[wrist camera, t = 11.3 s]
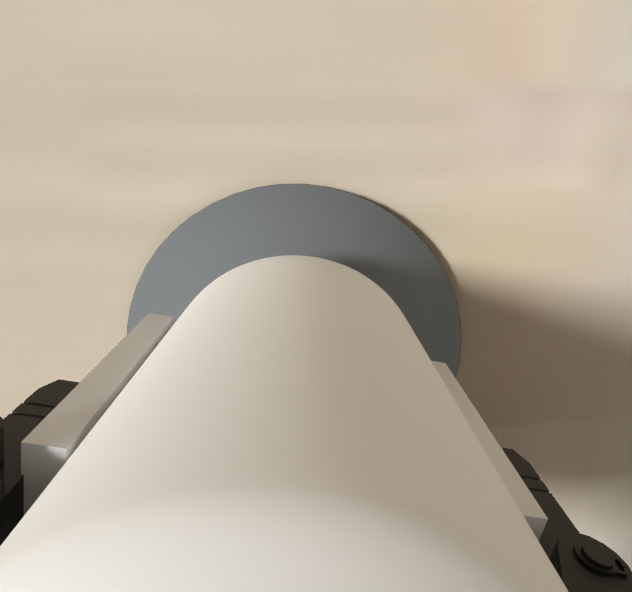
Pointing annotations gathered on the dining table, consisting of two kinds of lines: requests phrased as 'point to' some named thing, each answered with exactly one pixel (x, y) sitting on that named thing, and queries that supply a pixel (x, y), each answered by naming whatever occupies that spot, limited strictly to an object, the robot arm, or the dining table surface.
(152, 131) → the dining table surface
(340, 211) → the pad
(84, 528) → the beverage can
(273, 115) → the dining table surface
